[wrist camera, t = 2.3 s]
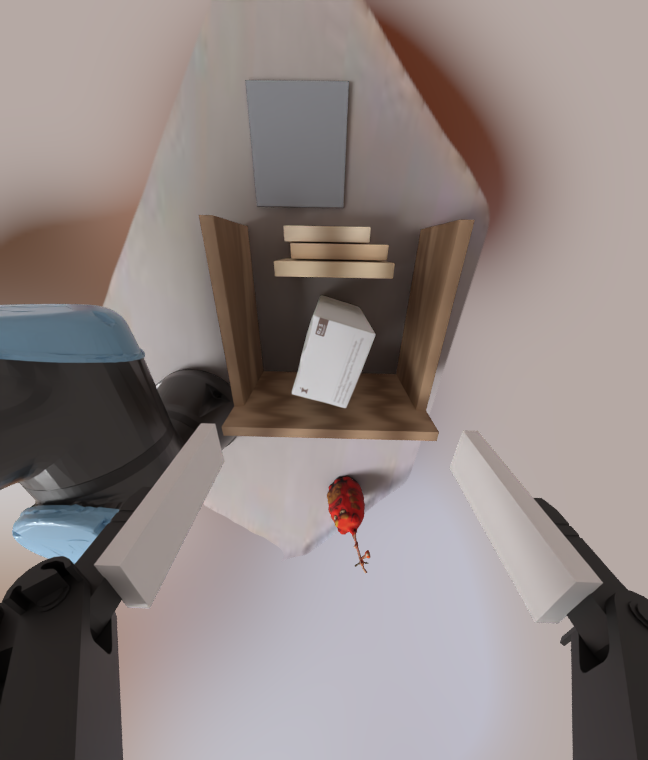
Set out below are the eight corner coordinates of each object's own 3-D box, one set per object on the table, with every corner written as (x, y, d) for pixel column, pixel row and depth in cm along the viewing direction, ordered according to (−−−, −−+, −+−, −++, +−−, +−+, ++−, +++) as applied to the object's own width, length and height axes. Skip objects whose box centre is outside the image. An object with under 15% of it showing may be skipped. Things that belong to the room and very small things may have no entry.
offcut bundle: (286, 270, 32) (275, 276, 25) (284, 229, 30) (271, 222, 23) (378, 272, 32) (392, 278, 25) (383, 230, 30) (400, 224, 23)
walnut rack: (256, 377, 39) (223, 435, 27) (237, 226, 30) (171, 207, 17) (402, 380, 39) (436, 440, 27) (430, 229, 29) (504, 213, 17)
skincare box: (341, 357, 37) (348, 414, 24) (303, 346, 37) (289, 398, 23) (360, 303, 34) (381, 335, 20) (318, 289, 33) (312, 314, 20)
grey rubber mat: (258, 206, 29) (256, 205, 28) (246, 83, 24) (245, 79, 24) (343, 207, 29) (343, 207, 28) (348, 84, 24) (348, 81, 23)
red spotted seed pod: (340, 469, 49) (345, 551, 35) (369, 482, 50) (384, 564, 37) (321, 491, 52) (319, 573, 38) (349, 502, 53) (356, 585, 40)
